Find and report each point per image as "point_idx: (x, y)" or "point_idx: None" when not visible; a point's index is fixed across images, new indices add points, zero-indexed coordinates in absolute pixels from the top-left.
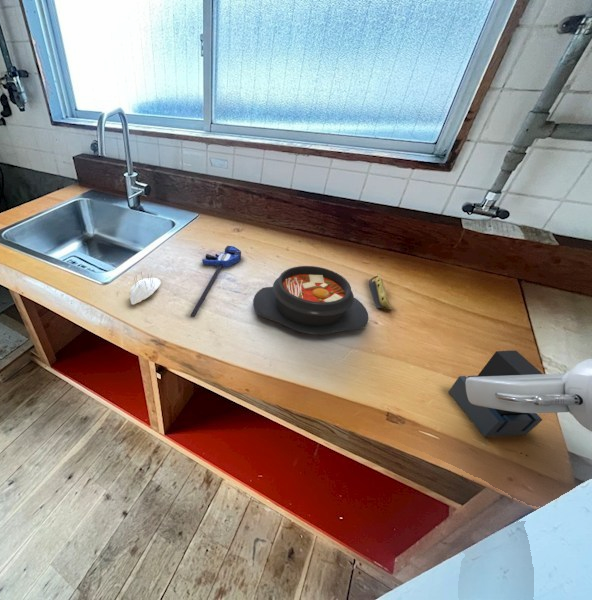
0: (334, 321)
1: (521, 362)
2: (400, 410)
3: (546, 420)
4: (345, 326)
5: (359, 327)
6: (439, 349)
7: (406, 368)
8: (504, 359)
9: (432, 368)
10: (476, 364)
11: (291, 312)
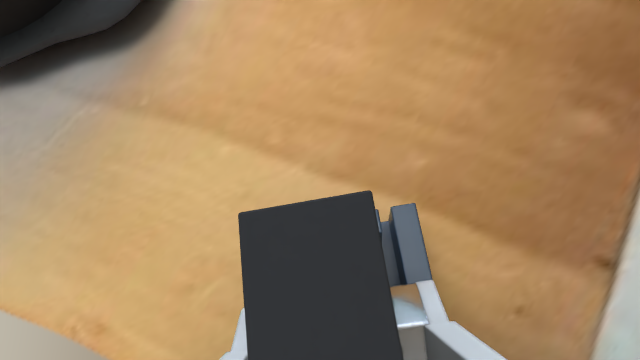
0: (22, 14)
1: (332, 314)
2: (105, 333)
3: (555, 336)
4: (63, 26)
5: (104, 22)
6: (346, 63)
7: (206, 159)
8: (245, 287)
9: (285, 148)
10: (436, 111)
11: None
